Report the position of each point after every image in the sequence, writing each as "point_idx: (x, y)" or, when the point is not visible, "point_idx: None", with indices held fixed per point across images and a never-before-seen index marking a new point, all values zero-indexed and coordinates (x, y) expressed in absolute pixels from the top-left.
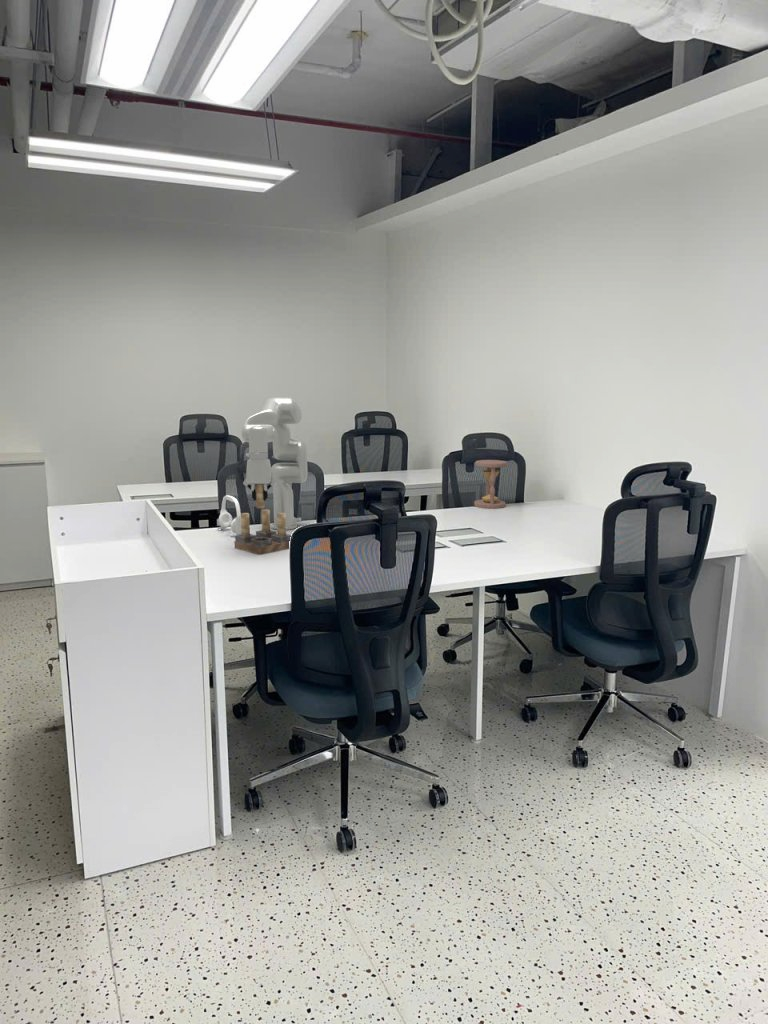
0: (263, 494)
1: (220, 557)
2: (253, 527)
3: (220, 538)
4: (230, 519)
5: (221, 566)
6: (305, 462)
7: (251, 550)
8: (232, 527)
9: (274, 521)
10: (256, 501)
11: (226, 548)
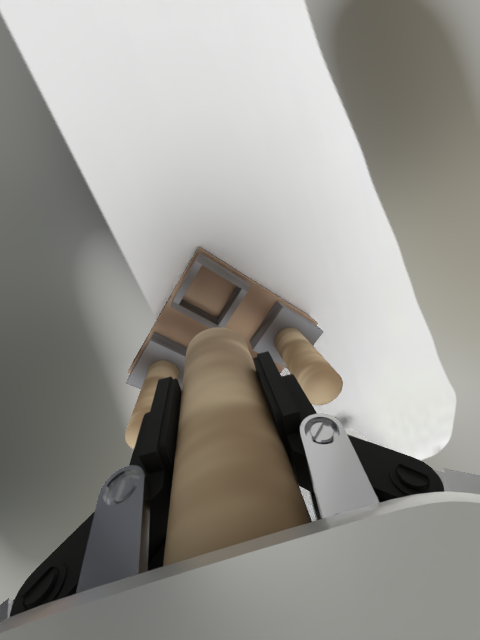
0: (168, 418)
1: (318, 183)
2: None
3: (371, 396)
4: None
5: (276, 29)
6: None
7: (240, 273)
8: (358, 434)
9: None
10: (241, 355)
11: (330, 303)
